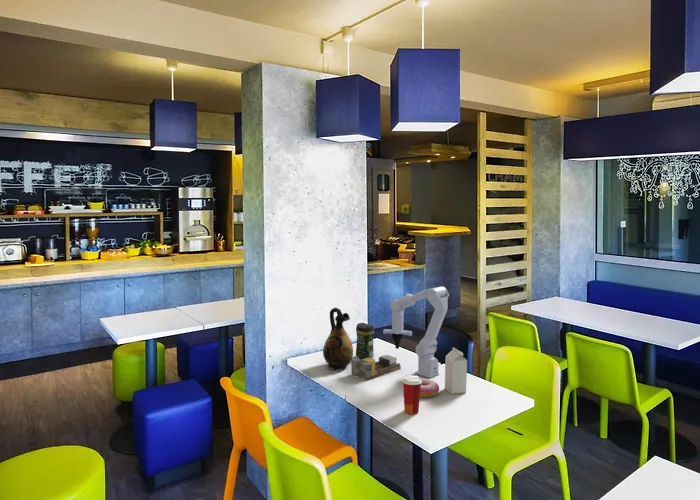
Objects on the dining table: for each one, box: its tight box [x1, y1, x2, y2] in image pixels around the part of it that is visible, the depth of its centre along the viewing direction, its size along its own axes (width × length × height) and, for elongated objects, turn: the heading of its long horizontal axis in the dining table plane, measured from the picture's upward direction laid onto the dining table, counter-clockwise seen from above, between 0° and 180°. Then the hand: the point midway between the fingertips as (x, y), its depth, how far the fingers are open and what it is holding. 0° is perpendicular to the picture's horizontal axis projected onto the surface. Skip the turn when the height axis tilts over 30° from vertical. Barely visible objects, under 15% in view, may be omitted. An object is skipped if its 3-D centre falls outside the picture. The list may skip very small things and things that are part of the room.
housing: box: [361, 358, 376, 372], centre depth 250 cm, size 4×4×6 cm
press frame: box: [350, 358, 402, 381], centre depth 253 cm, size 11×24×8 cm, turn 134°
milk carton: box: [444, 347, 468, 395], centre depth 229 cm, size 7×7×19 cm
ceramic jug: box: [322, 307, 354, 371], centre depth 260 cm, size 17×15×30 cm
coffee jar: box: [355, 322, 375, 360], centre depth 276 cm, size 10×8×19 cm
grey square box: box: [378, 354, 398, 367], centre depth 259 cm, size 7×6×4 cm
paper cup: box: [401, 374, 422, 416], centre depth 206 cm, size 8×8×14 cm
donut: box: [420, 378, 440, 398], centre depth 227 cm, size 14×13×5 cm
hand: (397, 348), depth 264 cm, fingers closed
